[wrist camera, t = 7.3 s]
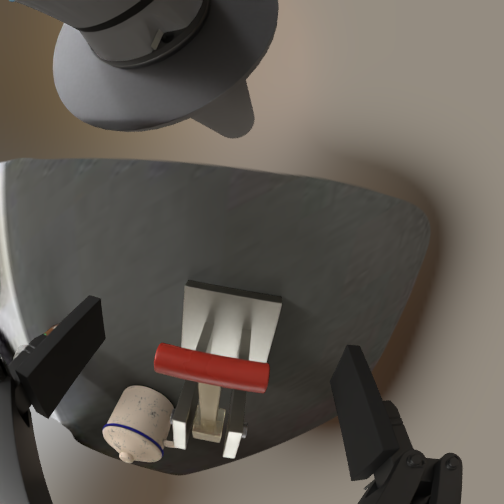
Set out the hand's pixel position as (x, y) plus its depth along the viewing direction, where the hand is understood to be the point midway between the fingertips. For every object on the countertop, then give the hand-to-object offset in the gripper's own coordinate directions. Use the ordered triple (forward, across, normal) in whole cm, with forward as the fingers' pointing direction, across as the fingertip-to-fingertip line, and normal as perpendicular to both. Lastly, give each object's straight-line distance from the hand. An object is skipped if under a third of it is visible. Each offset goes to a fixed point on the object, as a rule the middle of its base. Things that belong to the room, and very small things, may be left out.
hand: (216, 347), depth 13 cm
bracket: (+15, 0, -10) cm, 18 cm away
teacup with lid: (+15, -9, -27) cm, 32 cm away
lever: (+1, 0, -5) cm, 5 cm away
